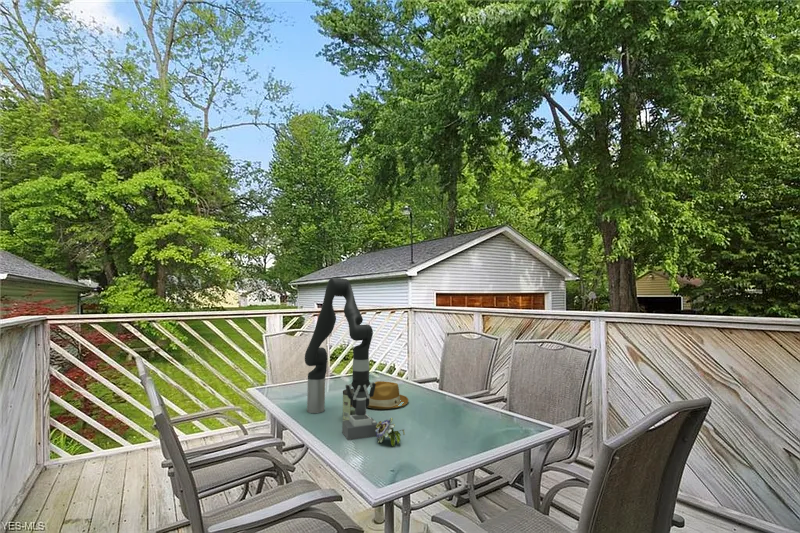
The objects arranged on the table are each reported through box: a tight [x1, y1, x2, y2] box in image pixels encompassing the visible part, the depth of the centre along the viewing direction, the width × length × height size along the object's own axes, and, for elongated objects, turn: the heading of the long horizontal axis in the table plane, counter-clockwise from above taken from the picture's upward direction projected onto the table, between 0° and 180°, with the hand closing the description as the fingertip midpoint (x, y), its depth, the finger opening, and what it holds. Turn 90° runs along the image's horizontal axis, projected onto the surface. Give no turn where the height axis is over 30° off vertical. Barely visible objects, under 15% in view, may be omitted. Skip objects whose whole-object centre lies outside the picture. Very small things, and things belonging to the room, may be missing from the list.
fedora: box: [367, 380, 409, 410], centre depth 227 cm, size 27×29×12 cm
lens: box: [355, 391, 367, 415], centre depth 179 cm, size 5×5×10 cm
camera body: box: [341, 413, 379, 441], centre depth 178 cm, size 10×14×8 cm
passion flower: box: [375, 417, 406, 448], centre depth 169 cm, size 11×11×12 cm
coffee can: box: [342, 387, 356, 421], centre depth 199 cm, size 10×10×14 cm
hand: (360, 406), depth 179 cm, fingers closed on lens, 5 cm apart
